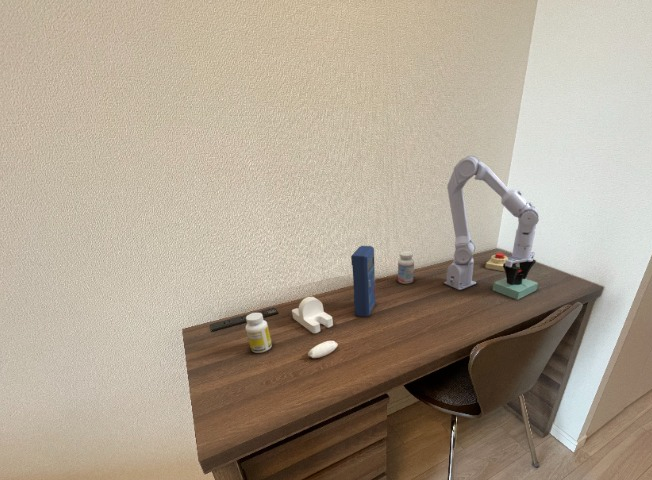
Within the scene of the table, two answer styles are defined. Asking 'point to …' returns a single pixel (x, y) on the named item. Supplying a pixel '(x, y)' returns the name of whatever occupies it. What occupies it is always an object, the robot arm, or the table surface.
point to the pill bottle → (405, 268)
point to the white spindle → (323, 349)
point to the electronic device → (363, 280)
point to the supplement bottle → (258, 333)
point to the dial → (519, 277)
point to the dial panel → (515, 288)
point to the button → (499, 255)
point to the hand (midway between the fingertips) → (516, 281)
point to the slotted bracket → (312, 315)
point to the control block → (496, 263)
